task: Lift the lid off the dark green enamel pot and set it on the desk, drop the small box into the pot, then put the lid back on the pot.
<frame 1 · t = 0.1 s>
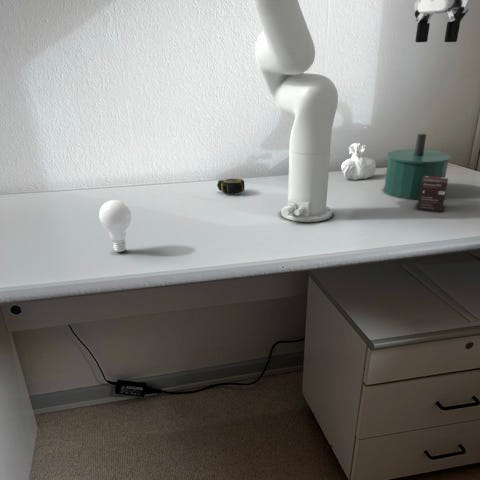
hand: (435, 42, 117), 37 cm above the table, tool pointing down, fingers open, 9 cm apart
pot: (412, 191, 141), on the table
lightbulb: (120, 252, 105), on the table
box: (429, 208, 128), on the table
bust: (356, 178, 156), on the table
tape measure: (230, 193, 143), on the table
lid: (418, 157, 136), point 9 cm above the table, touching pot
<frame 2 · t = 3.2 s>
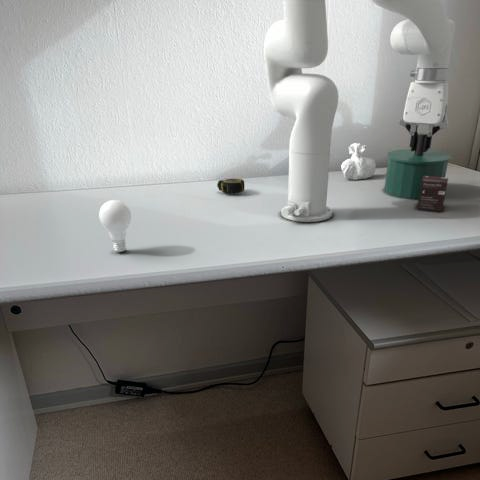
hand: (419, 150, 135), 11 cm above the table, tool pointing down, fingers closed on lid, 2 cm apart
lid: (418, 157, 136), point 10 cm above the table, touching gripper, pot
everything else where it was.
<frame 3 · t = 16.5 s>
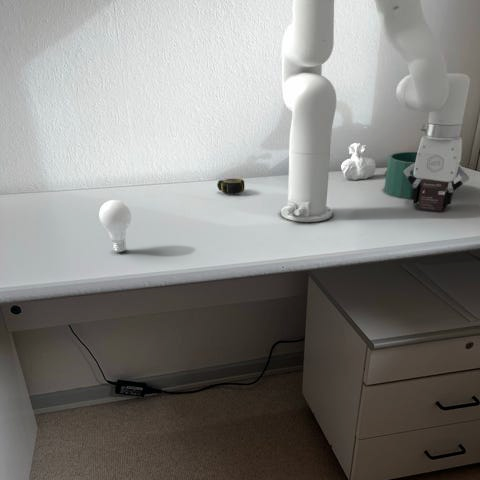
hand: (430, 204, 127), 1 cm above the table, tool pointing down, fingers closed on box, 6 cm apart
box: (429, 208, 128), on the table, touching gripper
lid: (413, 174, 156), point 1 cm above the table
everything else where it was.
when the fingers open (11 cm above the table, at t = 37.4 s): box stays where it is, resting on pot.
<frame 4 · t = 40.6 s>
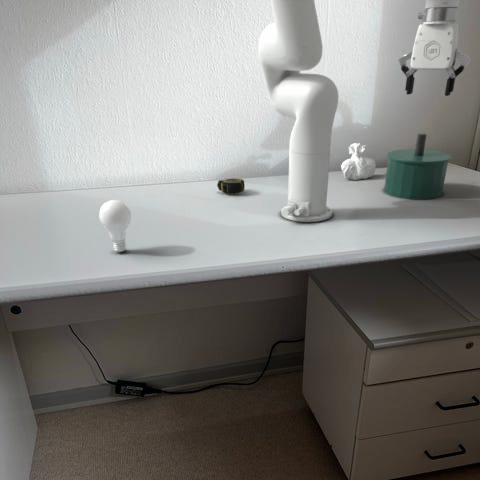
hand: (428, 94, 128), 25 cm above the table, tool pointing down, fingers open, 9 cm apart
box: (412, 190, 141), resting on pot
lid: (418, 157, 136), point 9 cm above the table, touching pot
everything else where it was.
at the end: box inside the target area in the pot (0.1 cm from its centre), point 0.3 cm above the pot's base; lid 0.1 cm off-centre on the pot, point 9.5 cm above the pot's base; lid tilted 0° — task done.
